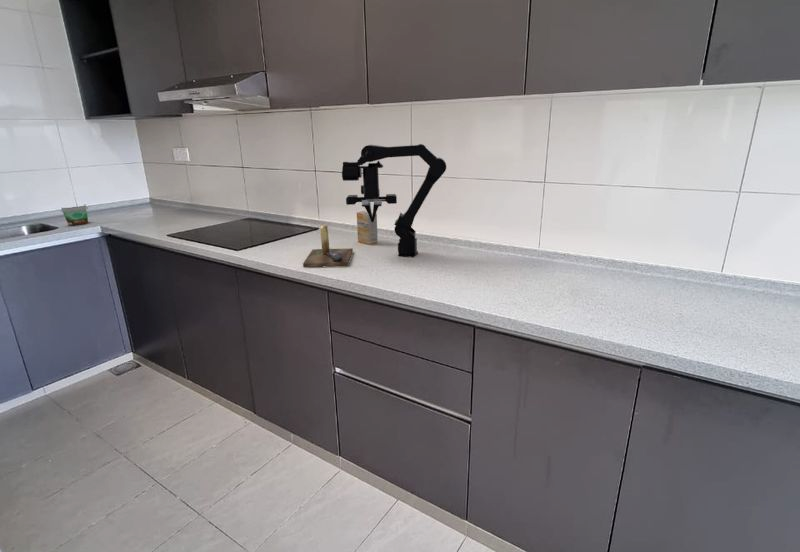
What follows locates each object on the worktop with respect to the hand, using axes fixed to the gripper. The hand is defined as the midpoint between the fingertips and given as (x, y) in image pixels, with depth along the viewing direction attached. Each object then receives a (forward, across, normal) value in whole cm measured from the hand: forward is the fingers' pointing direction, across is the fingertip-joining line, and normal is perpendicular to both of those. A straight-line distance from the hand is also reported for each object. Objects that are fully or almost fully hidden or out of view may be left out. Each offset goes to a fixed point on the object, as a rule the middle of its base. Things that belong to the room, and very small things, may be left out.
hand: (372, 222), depth 166 cm
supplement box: (+13, +4, -19) cm, 23 cm away
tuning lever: (+11, +16, +6) cm, 20 cm away
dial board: (+13, +17, +5) cm, 22 cm away
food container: (+13, +165, -74) cm, 181 cm away
